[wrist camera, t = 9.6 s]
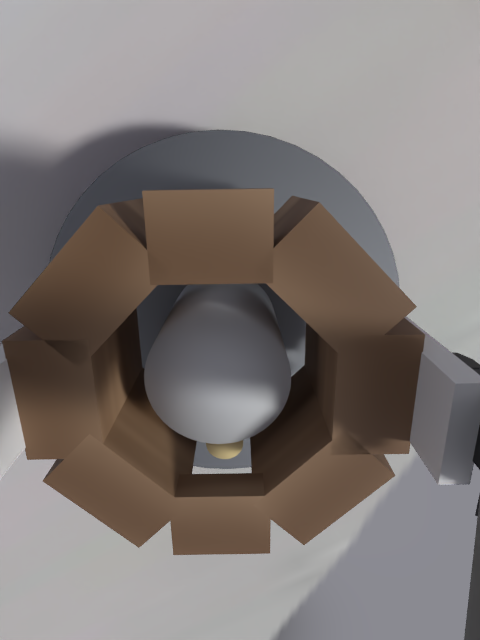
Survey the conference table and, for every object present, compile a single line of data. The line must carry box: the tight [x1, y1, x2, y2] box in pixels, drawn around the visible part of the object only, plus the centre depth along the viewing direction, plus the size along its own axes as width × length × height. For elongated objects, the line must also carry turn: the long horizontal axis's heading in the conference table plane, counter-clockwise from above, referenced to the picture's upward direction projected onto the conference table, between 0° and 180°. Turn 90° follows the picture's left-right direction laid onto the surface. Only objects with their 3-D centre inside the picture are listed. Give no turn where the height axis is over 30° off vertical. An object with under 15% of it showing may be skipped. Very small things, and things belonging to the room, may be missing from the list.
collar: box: [2, 188, 425, 555], centre depth 13 cm, size 11×11×5 cm
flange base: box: [49, 130, 399, 469], centre depth 16 cm, size 15×15×8 cm
